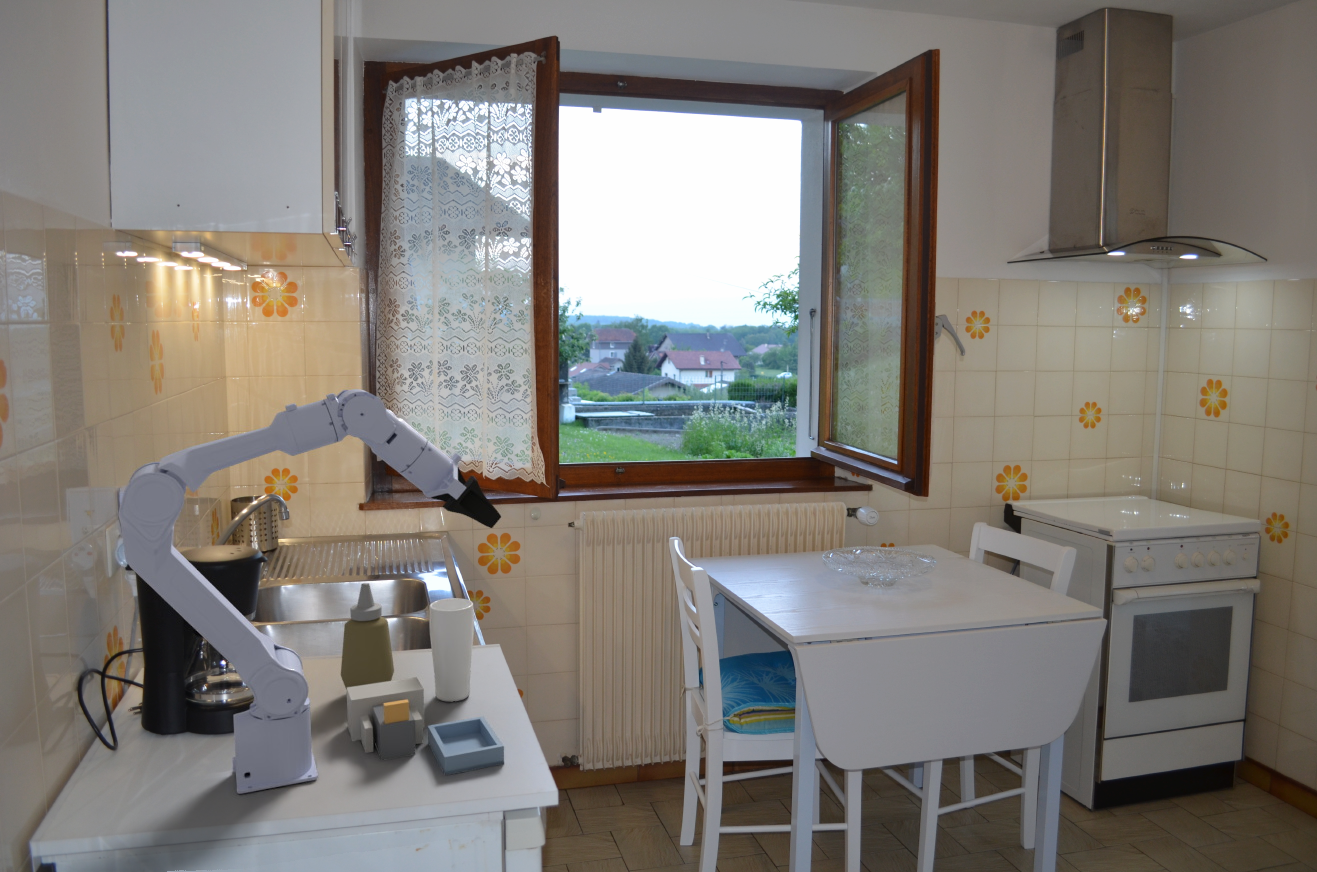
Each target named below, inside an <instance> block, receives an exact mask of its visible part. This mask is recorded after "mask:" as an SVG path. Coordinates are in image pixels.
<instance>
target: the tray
mask: <svg viewBox="0 0 1317 872" xmlns="http://www.w3.org/2000/svg"><path fill="white" fill-rule="evenodd" d="M427 742H428V745H429V748H430V749H431V751H432V753H433V754H434V757H435V759H436V761H437V763H438V765H439V767H440V768H441V771H442V773H443V775H444V776H450V775H453V774H454V775H455V774H459V773H464V772H465V773H466V772H469V771H474V770H480V769H484V768H490V767H494V766H501V765H504V764H505V745H504V744H503V743H502V741H501V740H500V738H499V737H498V735H497V734H496V733H495V731H494V730H493V728H492V727H491V725H490V724H489V722H488V721H487V719H486V718H485V716H484V715H482V716H476V717H471V718H466V719H459V720H454V721H453V720H452V721H447V722H443V723H442V722H441V723H437V724H431V725H427Z"/></svg>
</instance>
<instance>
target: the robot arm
mask: <svg viewBox="0 0 1317 872" xmlns="http://www.w3.org/2000/svg"><path fill="white" fill-rule="evenodd" d="M284 407H285V410H283V411H279V412H277V413H276V415H275V416H274V418H273V420H272V421H271V423H270V425H268V426H265V427H261V428H258V429H254V430H250V431H246V432H242V433H239V434H235V435H231V436H227V437H223V438H219V439H216V440H211V441H207V442H204V443H201V444H197V445H193V446H190V447H186V448H183V449H181V450H179V451H176V452H173V453H170V454H168V455H166V456H164V457H162V458H160V461H152V462H148V463H146V464H142V465H141V466H140V467H138V468H137V469H136V470H135V471H133V473H132V475H131V476H130V478H129V481H128V483H127V485H126V487H125V489H124V492H123V493H122V498H121V502H120V505H119V509H118V515H117V516H118V519H119V523H120V529H121V535H122V537H121V538H122V542H123V543H122V544H123V551H124V557H125V561H126V563H127V564H128V566H129V567H130V568H131V569H132V570H133V571H134V572H135V573H136V574H137V575H138V576H139V577H140V578H141V579H142V580H143V581H144V582H145V583H147V585H149V586H150V587H151V588H152V589H153V590H154V592H156V593H157V594H158V595H159V596H160V597H161V598H162V599H163V600H164V602H166V603H167V604H168V605H169V606H170V607H171V608H173V610H175V611H176V612H177V613H178V614H179V615H180V616H181V617H182V618H183V619H184V620H185V622H187V623H188V624H189V625H190V626H192V628H193V629H194V630H195V631H197V632H198V633H199V634H200V635H201V636H202V637H203V639H205V640H206V641H207V642H208V643H209V644H210V645H211V646H212V648H213V649H215V650H216V651H217V652H218V653H219V654H220V655H222V657H224V658H225V659H226V660H227V661H228V662H229V663H230V665H232V667H233V668H234V671H236V673H237V674H238V677H239V678H240V680H241V681H242V683H243V684H245V686H246V687H247V688H248V689H250V692H251V693H252V695H253V702H252V703H250V705H249V709H247V710H245V711H241V712H238V713H235V714H233V735H234V736H233V737H234V738H233V740H234V757H232V759H231V761H232V773H235V777H236V779H235V780H236V792H237V794H246V793H251V792H258V791H262V790H267V789H272V788H277V787H278V788H279V787H283V786H289V785H294V784H300V783H304V782H310V781H316V780H318V778H319V774H318V769H317V765H316V762H315V761H316V759H315V757H314V753H313V751H312V726H311V725H312V724H311V723H312V722H311V699H310V697H308V696H309V693H310V692H309V683H308V681H307V679H306V677H305V675H304V671H303V670H304V667H303V662H302V658H301V657H300V654H298V653H297V652H296V651H295V650H294V649H292V648H289V647H286V646H282V645H280V644H279V643H277V642H275V641H274V640H273V639H272V638H271V637H270V636H268V635H266V634H265V633H262V632H260V631H259V629H258V628H256V627H255V626H254V624H252V623H251V622H250V621H249V619H247V618H246V617H245V616H244V615H243V614H242V613H241V612H240V611H239V610H238V609H237V608H236V607H235V606H234V604H232V603H231V602H230V601H229V600H228V599H227V598H226V597H225V595H223V594H222V593H221V591H219V590H218V589H217V588H216V587H215V586H214V585H213V584H212V583H211V582H210V581H209V580H208V579H207V578H206V577H205V576H204V575H203V574H202V573H201V572H200V571H199V570H197V568H196V567H195V566H194V565H193V564H192V563H191V562H189V560H187V558H186V557H185V556H184V555H183V554H182V553H180V551H179V550H178V549H177V548H176V547H175V546H174V545H173V537H174V529H175V524H176V521H177V520H178V519H179V516H180V514H181V511H182V510H183V508H184V505H185V499H186V498H185V497H186V496H185V495H186V491H187V488H188V489H189V490H190V491H191V492H192V494H193V493H195V492H196V491H197V490H198V489H199V488H200V487H201V486H202V485H203V483H204V482H205V481H206V480H207V479H208V478H209V477H210V476H211V475H212V474H213V473H215V472H218V471H221V470H223V469H227V468H230V467H233V466H235V465H238V464H239V465H240V464H241V463H244V462H247V461H250V460H253V459H256V458H259V457H261V456H264V455H268V454H270V453H274V452H275V451H276V452H277V451H281V452H282V453H284V454H286V455H288V456H292V457H295V456H298V455H301V454H304V453H307V452H310V451H313V450H314V451H315V450H318V449H320V448H324V447H326V446H330V445H333V444H336V443H340V442H342V441H343V440H344V438H346V437H347V436H350V437H354V438H358V439H359V440H361V441H362V442H363V443H364V444H366V445H367V446H368V447H370V449H371V452H372V453H373V454H374V455H376V456H377V457H378V458H379V459H381V460H382V461H384V462H385V463H386V464H387V465H388V466H389V467H391V468H392V469H393V470H394V471H396V472H397V473H398V474H400V475H401V476H402V477H404V478H405V479H406V480H407V481H408V482H410V483H411V484H413V485H414V486H415V487H416V488H417V489H419V490H420V491H422V494H423V495H424V496H425V497H427V498H431V499H433V500H438V501H441V502H445V503H444V504H443V505H442V508H443V509H444V510H446V511H447V512H450V513H455V514H460V515H463V516H466V517H467V518H470V519H472V520H474V521H476V522H477V523H478V524H479V523H480V524H481V525H484V526H485V527H486V528H487V527H488V528H489V529H493V528H494V526H496V524H497V523H498V522H499V520H500V519H501V518H502V516H501V514H500V512H499V511H498V509H496V507H495V506H494V505H493V504H492V503H491V502H490V501H489V499H488V498H487V497H486V495H485V493H484V492H483V491H482V488H481V486H480V484H479V481H478V479H477V478H476V477H475V476H474V475H470V477H468V479H467V480H466V479H465V478H464V476H463V474H462V472H461V470H460V467H459V465H458V464H459V463H460V462H461V460H462V458H463V457H462V455H460V454H459V453H457V452H456V453H454V454H453V455H452V456H451V457H449V456H448V455H447V454H446V453H444V452H443V451H442V450H441V449H439V448H438V447H437V446H436V445H434V443H432V442H431V441H429V440H428V439H427V438H426V437H425V436H423V434H421V433H420V432H418V431H417V429H415V428H414V427H413V426H411V425H410V424H409V423H407V422H406V420H404V419H403V418H402V417H397V416H396V414H395V412H394V411H392V410H390V409H388V408H386V405H385V404H384V402H383V400H382V399H381V398H380V397H379V396H376V395H374V394H372V393H370V392H368V391H366V390H364V389H359V388H353V389H343V390H341V391H340V392H339V393H338V394H337V395H336V394H335V393H334V392H332V393H328V394H326V398H324V399H321V400H318V401H314V402H311V403H306V404H303V405H299V406H298V405H297V404H296V403H295V402H293V403H289V404H286V405H285V406H284Z"/></svg>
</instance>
